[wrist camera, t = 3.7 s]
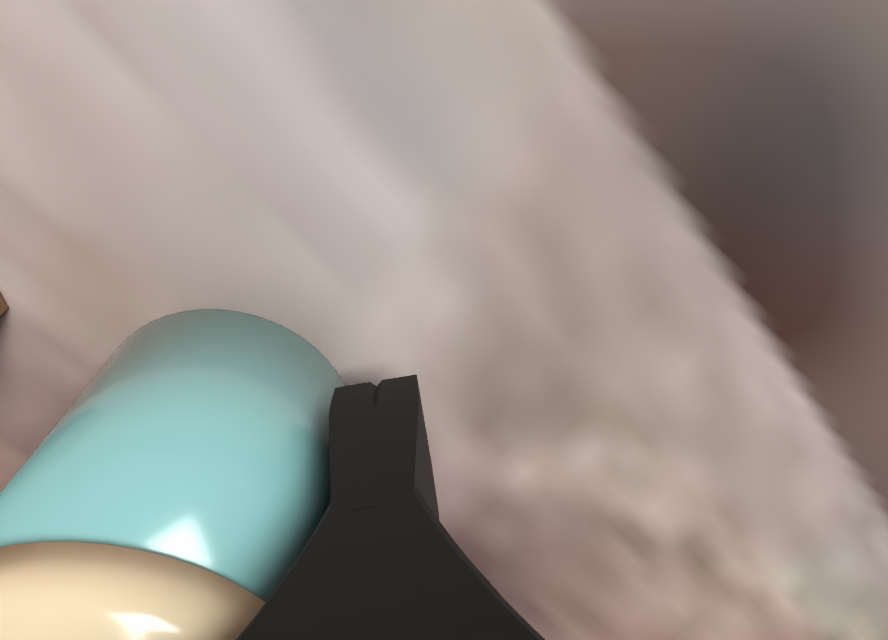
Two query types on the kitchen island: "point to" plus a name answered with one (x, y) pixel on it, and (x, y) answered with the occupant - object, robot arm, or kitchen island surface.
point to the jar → (171, 486)
